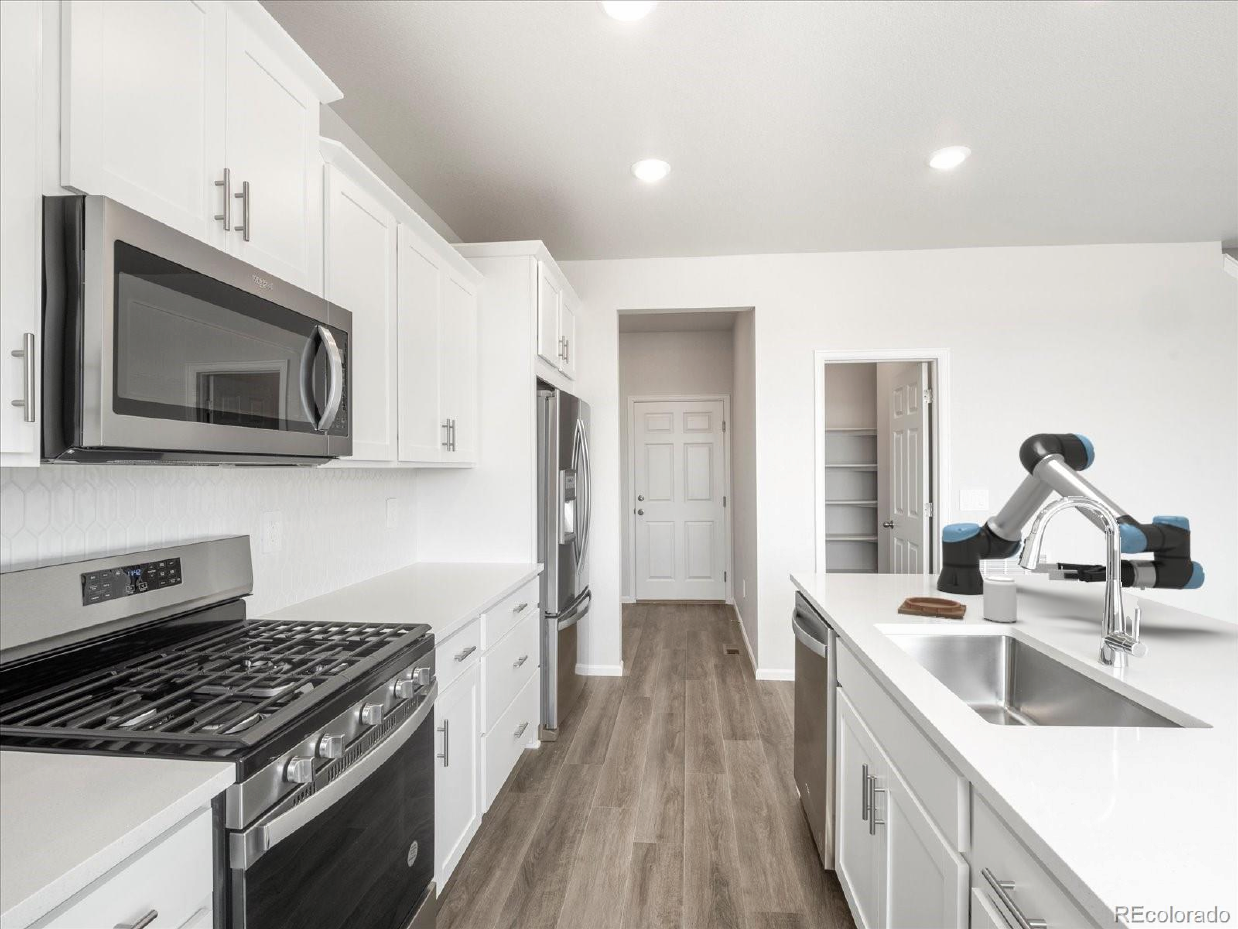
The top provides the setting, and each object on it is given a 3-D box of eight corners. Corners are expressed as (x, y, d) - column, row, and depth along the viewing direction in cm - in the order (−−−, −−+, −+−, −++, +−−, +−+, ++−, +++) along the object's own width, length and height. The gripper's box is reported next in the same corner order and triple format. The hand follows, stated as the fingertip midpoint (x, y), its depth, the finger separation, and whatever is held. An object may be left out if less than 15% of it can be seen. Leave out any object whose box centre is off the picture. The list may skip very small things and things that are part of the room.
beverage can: (1007, 617, 185) (1007, 575, 186) (1022, 623, 177) (1022, 580, 178) (978, 616, 186) (978, 575, 186) (991, 623, 178) (991, 580, 178)
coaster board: (906, 603, 205) (906, 594, 205) (966, 608, 196) (966, 600, 196) (897, 613, 191) (897, 604, 191) (962, 620, 182) (962, 610, 182)
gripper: (1154, 595, 161) (1057, 592, 167) (1108, 580, 185) (1025, 577, 191) (1153, 565, 161) (1057, 563, 167) (1107, 554, 185) (1024, 552, 191)
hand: (1039, 571), depth 179 cm, fingers open, 13 cm apart
